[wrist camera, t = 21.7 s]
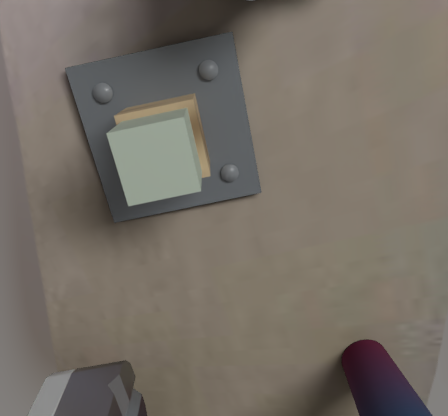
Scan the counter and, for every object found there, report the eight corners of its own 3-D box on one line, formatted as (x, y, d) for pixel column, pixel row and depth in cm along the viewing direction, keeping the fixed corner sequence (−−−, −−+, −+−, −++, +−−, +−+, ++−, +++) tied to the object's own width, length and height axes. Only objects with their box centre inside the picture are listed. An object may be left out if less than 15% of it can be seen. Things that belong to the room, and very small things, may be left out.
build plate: (260, 189, 40) (261, 193, 38) (116, 218, 40) (113, 223, 39) (231, 32, 35) (232, 31, 34) (68, 67, 35) (63, 68, 34)
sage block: (201, 171, 33) (201, 191, 28) (139, 184, 33) (128, 206, 28) (187, 107, 31) (183, 117, 26) (121, 121, 31) (106, 133, 26)
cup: (334, 385, 48) (386, 522, 34) (332, 336, 46) (388, 461, 32) (393, 378, 48) (470, 511, 34) (394, 328, 46) (477, 450, 32)
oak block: (210, 161, 38) (210, 176, 33) (144, 174, 38) (135, 191, 33) (195, 93, 35) (193, 99, 31) (125, 107, 36) (113, 116, 31)
